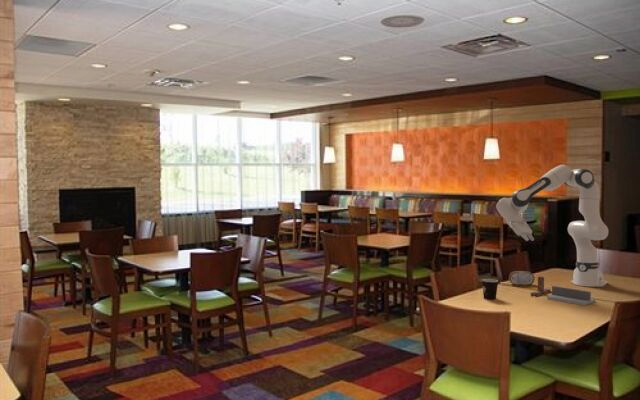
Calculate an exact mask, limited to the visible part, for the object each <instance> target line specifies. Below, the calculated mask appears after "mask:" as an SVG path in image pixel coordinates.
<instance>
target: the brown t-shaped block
mask: <svg viewBox="0 0 640 400" xmlns="http://www.w3.org/2000/svg"><path fill="white" fill-rule="evenodd" d="M548 292H549V293H552V288H545V277H544V276H537V290H536V291H533V292H530V297H533V296H536V297H538V295H539V296H542V295H545V294H544V293H546V294H549V293H548ZM541 294H542V295H541Z"/></svg>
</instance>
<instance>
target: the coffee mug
mask: <svg viewBox="0 0 640 400" xmlns="http://www.w3.org/2000/svg"><path fill="white" fill-rule="evenodd" d="M498 283H499V280H498V279H493V278H483V279H482V280H481V286H482V294H483V299H484V300H488V301H489V300H490V301H494V300H495V301H496V300H497V295H498V294H497V293H498V287H499V286H498Z"/></svg>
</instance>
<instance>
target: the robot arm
mask: <svg viewBox="0 0 640 400" xmlns="http://www.w3.org/2000/svg"><path fill="white" fill-rule="evenodd" d="M562 185H565V186H568V187H570V188H578V190H579V200H578V211H579V213H580V214H581V215H582V216H583V218H584V220H573V221H571V222H569V224H568V226H567V233H568V234H569V236H571V237H572V239H573V242H574V244H575V248H576V260H575V261H576V262H575V269H574V270H573V275H572V276H573V278H572V280H570V283H573V284H574V285H576V286H580V287H595V288H596V287H599V288H601V287H603V288H604V286H606V285H607V284H608V281H607V280H604V274H603V272H602V271H601V269H600V268H599V266H600V261H598V250H597V249H598V248H596V247H595V246H594V245H593V243H592V241H602V240H605V239H607V237H608V236H609V228H608V226H607V225H606V223H604V221H603V220H602V217H601V214H600V201H601V200H600V199H601V196H600V195H601V194H600V193H601V192H600V186H599V183H598V182H596V180H595V176H594V174H593V172H592V170H590V169H588V168H587V169H586V168H575V169H571V168H570V167H569V166H568V165H566V164H559V165H557V166H555V167H553V168H551V169H550V170H548V171H547V172H546V173H545V174H543V175H542V176H541V177H540V178H539V179H538V180H536V181H534V182H533V183H531V184H530V185H528V186H527V187H524V188H521V189H517V190H516V191H514V192H513V194H512V196H511V197H502V198H500V199H499V200H498V201H497V203H496V204H495V208H496V210H497V211H498V213H499V214H500V216H501V217H502V218H503V219H504V221H505V222H506V224H507V225H508V226H509V228H510V229H512V231H513V232H514V233H515V235H517V236H521V237H522V239H524V240H525V242H528V241H529V240H530V242H531V241H534V240H535V238H534V237H533V235H532V234H533V230H532V229H531V227H530V226H529V224H528V223H527V220H526V219H525V218H524V217H522V216H521V213H523V212H525V211H527V209H528V207H529V203H530V201H531V199H532V198H533V197H534V196H536V195H538V194H539V193H540V192H542V191H547V192H552V191H554V190H556V189H558V188H560V187H561V186H562Z"/></svg>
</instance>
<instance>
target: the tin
mask: <svg viewBox="0 0 640 400" xmlns="http://www.w3.org/2000/svg"><path fill="white" fill-rule="evenodd" d="M508 281H509V282H510V283H511V284H512V285H515V286H531V285H533V283H534V282H535V276H534V274H533V273H532V272H531V271H527V270H525V271H524V270H522V271H521V270H515V271H511V272H510V273H509V275H508Z"/></svg>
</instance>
